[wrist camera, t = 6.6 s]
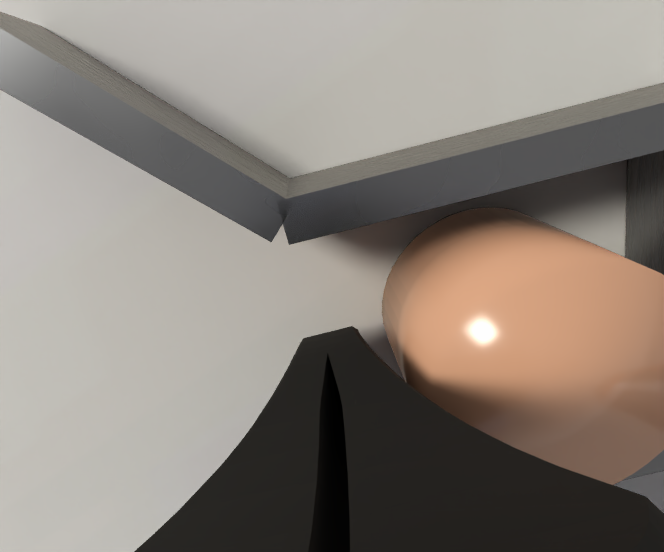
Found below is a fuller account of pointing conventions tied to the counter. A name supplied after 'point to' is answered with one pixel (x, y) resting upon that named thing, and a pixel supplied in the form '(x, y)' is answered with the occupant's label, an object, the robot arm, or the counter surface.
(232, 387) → the counter surface
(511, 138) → the gray zigzag divider
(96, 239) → the counter surface
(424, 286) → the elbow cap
